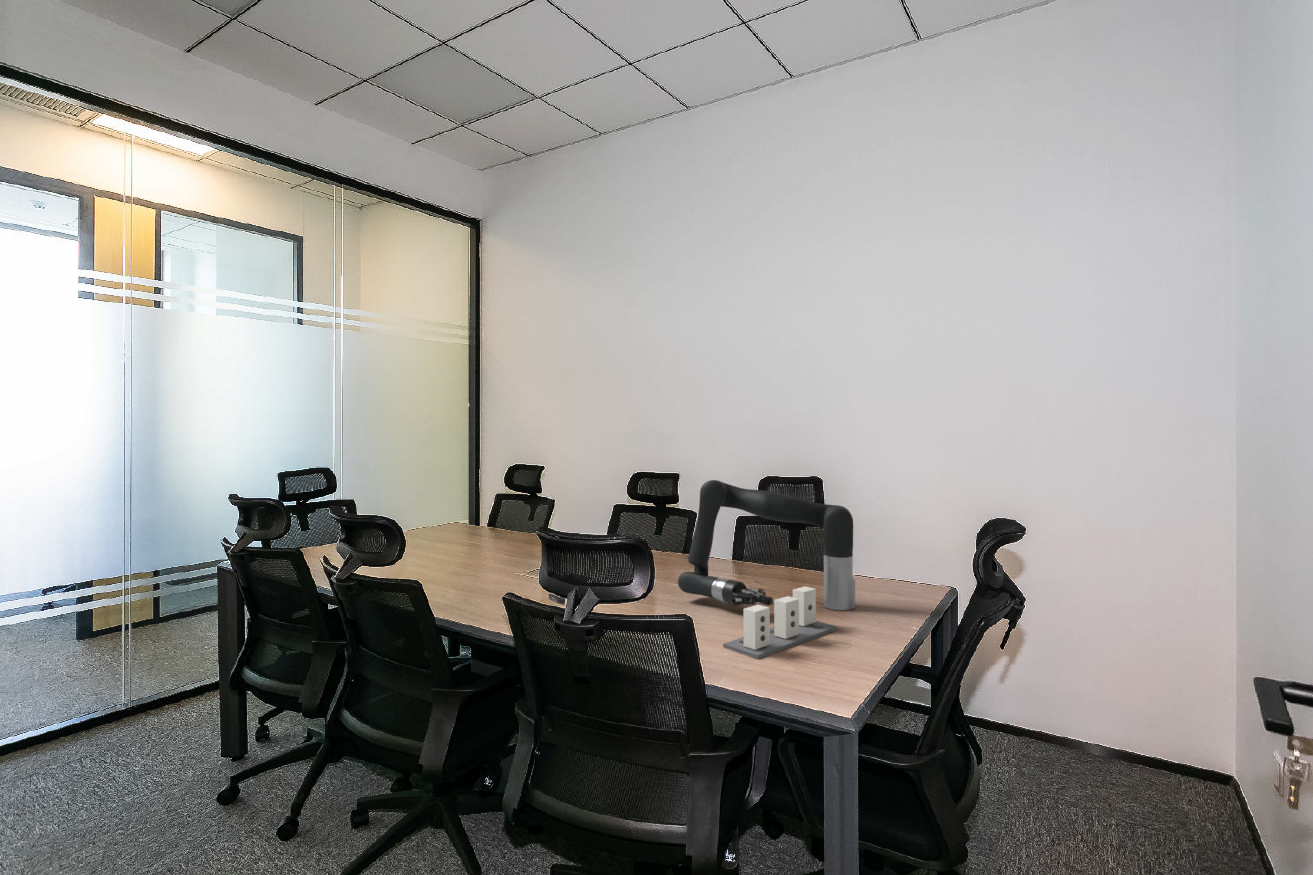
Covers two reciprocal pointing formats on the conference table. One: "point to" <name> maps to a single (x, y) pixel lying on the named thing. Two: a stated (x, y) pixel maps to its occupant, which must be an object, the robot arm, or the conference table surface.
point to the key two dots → (786, 617)
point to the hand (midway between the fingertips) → (771, 601)
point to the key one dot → (806, 605)
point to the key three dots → (756, 626)
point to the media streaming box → (557, 599)
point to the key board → (781, 640)
